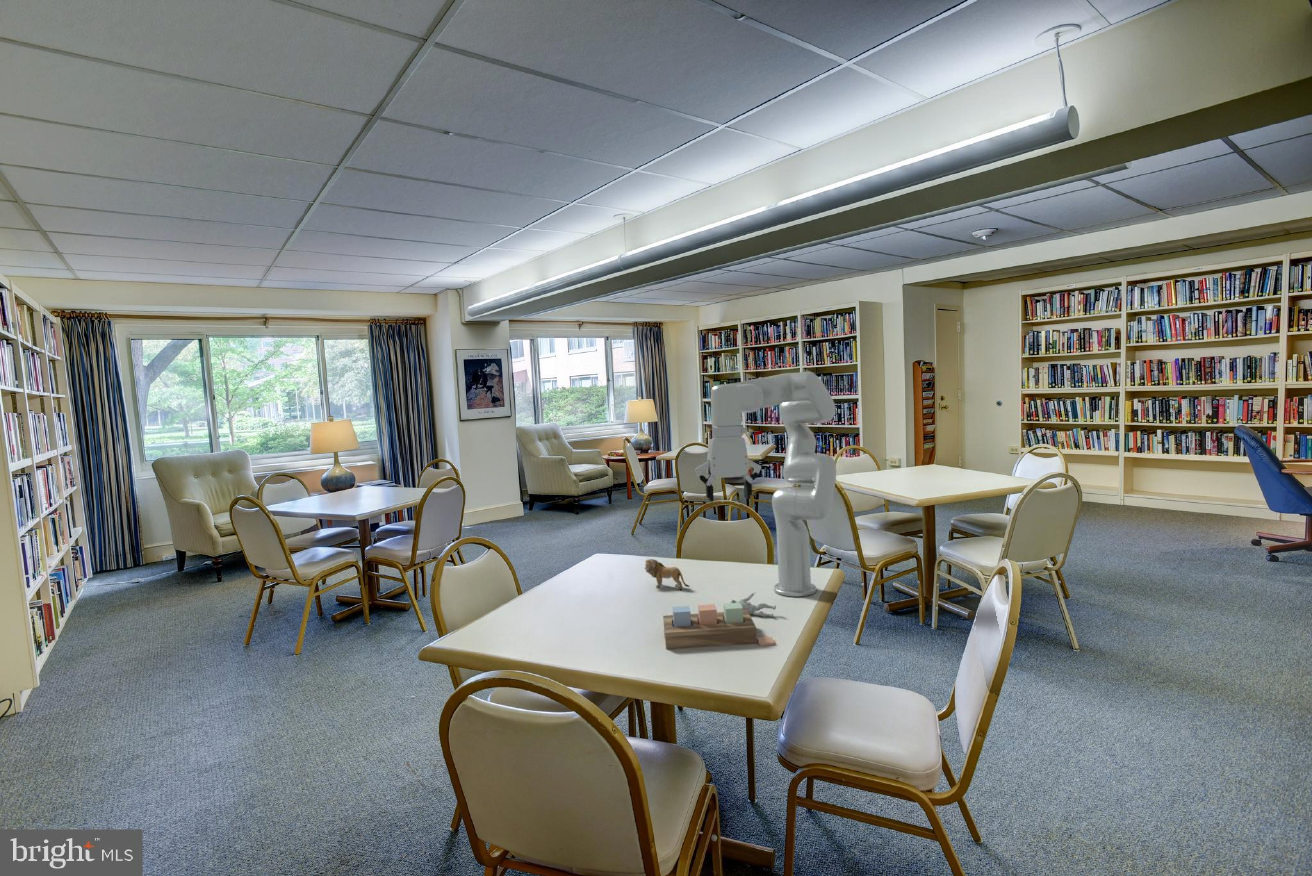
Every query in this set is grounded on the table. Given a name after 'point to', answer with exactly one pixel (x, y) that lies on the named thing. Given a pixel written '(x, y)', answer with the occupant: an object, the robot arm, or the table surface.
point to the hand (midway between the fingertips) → (729, 499)
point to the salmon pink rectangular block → (707, 614)
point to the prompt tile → (765, 641)
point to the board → (709, 632)
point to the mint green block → (733, 613)
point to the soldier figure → (752, 608)
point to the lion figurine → (663, 572)
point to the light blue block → (681, 616)
